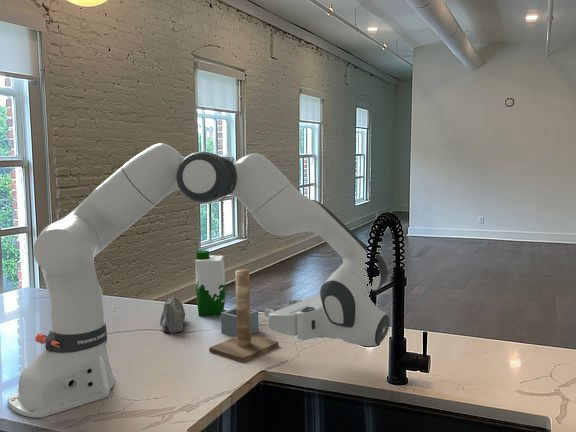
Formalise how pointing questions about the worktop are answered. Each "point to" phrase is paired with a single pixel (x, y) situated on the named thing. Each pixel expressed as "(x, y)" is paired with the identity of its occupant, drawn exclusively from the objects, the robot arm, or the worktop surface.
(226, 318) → the open box
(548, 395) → the worktop surface
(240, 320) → the dowel
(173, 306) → the mineral rock
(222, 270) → the milk carton
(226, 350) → the tray
